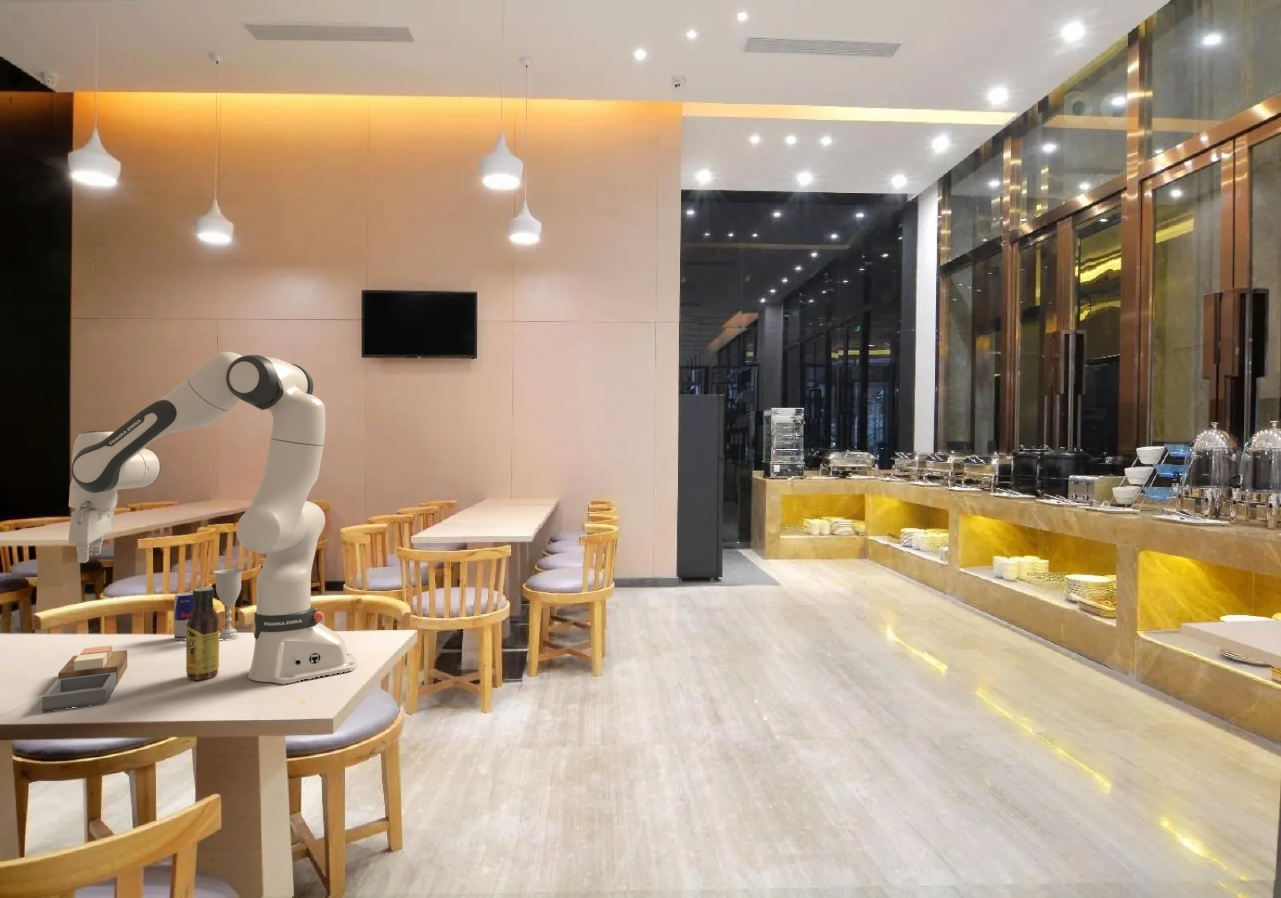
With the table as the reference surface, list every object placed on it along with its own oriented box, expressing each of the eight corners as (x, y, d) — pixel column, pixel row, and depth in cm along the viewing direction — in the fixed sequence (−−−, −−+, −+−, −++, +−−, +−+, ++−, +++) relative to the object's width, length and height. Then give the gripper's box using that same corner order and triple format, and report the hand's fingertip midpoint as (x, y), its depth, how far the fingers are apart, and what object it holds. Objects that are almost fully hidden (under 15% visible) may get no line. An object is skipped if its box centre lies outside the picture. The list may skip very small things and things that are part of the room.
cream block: (107, 661, 157) (107, 652, 157) (103, 667, 153) (103, 658, 153) (78, 664, 155) (78, 655, 155) (73, 670, 150) (73, 661, 150)
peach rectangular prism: (112, 654, 162) (112, 645, 162) (108, 660, 158) (108, 651, 158) (84, 657, 160) (84, 648, 160) (80, 663, 156) (79, 654, 156)
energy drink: (186, 641, 188) (186, 596, 188) (169, 640, 189) (169, 595, 189) (202, 636, 193) (202, 592, 193) (186, 635, 194) (185, 591, 194)
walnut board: (127, 667, 166) (127, 650, 166) (117, 684, 154) (117, 666, 154) (73, 673, 161) (73, 656, 161) (58, 692, 149) (58, 673, 149)
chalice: (248, 637, 192) (248, 570, 192) (222, 642, 186) (222, 574, 186) (234, 633, 196) (234, 568, 196) (208, 638, 190) (208, 571, 190)
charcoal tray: (116, 686, 153) (116, 672, 153) (106, 703, 142) (105, 688, 142) (57, 693, 148) (57, 679, 148) (42, 712, 137) (42, 697, 137)
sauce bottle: (184, 676, 159) (184, 587, 159) (217, 671, 163) (217, 584, 163) (187, 684, 154) (187, 592, 154) (221, 678, 158) (221, 589, 158)
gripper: (97, 504, 157) (93, 566, 158) (120, 495, 176) (116, 551, 176) (61, 503, 155) (57, 567, 155) (89, 494, 173) (85, 551, 174)
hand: (89, 558), depth 166 cm, fingers open, 8 cm apart
